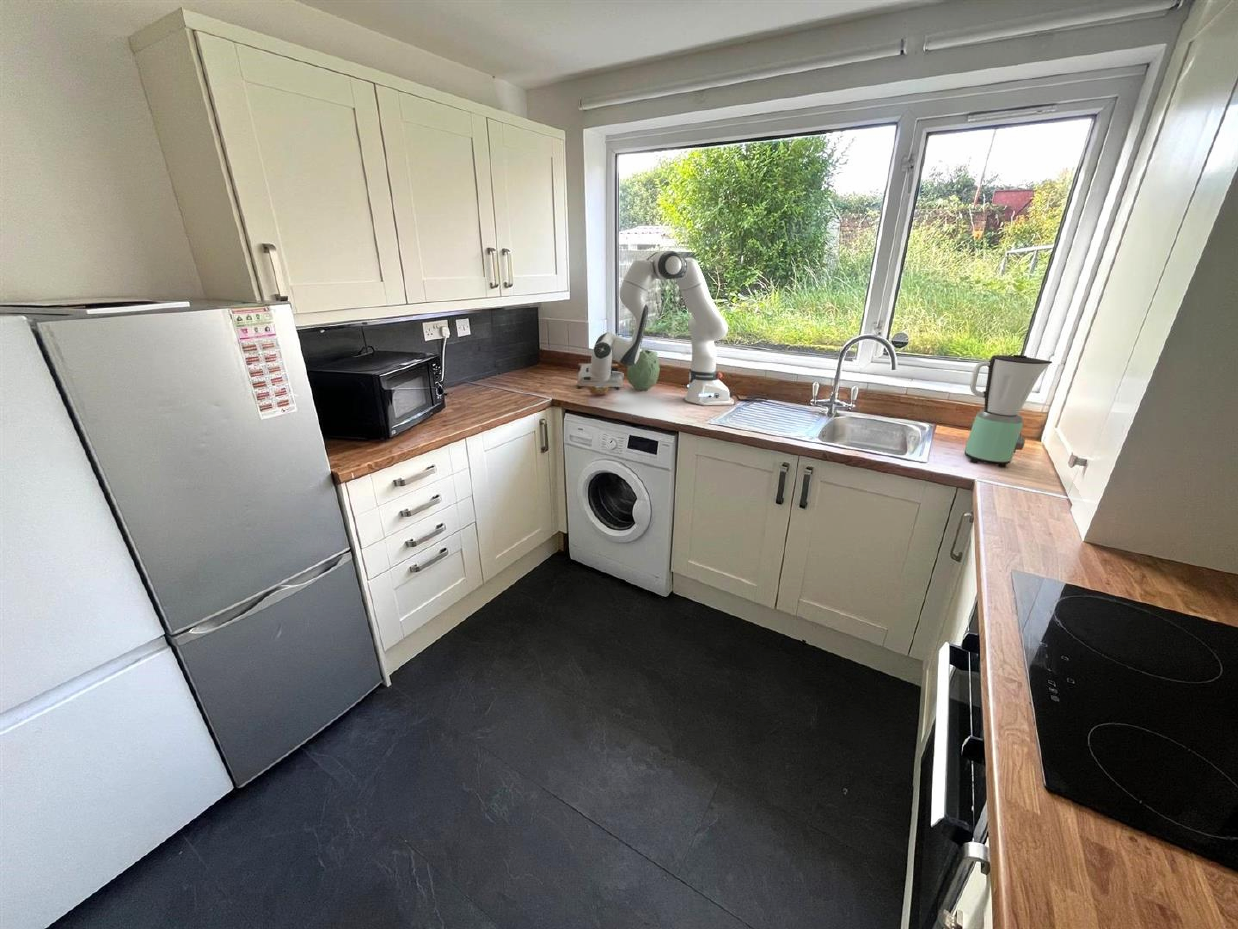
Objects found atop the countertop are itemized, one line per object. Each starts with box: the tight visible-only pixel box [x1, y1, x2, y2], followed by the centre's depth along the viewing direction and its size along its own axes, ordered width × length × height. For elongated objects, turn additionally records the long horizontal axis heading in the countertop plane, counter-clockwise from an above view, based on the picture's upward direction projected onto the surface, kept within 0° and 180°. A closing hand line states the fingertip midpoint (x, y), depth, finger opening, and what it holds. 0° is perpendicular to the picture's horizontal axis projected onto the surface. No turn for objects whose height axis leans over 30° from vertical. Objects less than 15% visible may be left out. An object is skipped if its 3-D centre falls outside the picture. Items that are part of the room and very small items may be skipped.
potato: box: [587, 386, 610, 396], centre depth 235 cm, size 10×14×8 cm
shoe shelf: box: [577, 362, 619, 391], centre depth 250 cm, size 20×9×11 cm, turn 94°
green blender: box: [964, 354, 1053, 469], centre depth 161 cm, size 19×13×35 cm
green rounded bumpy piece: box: [626, 347, 661, 392], centre depth 245 cm, size 16×19×20 cm
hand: (599, 389), depth 229 cm, fingers closed
